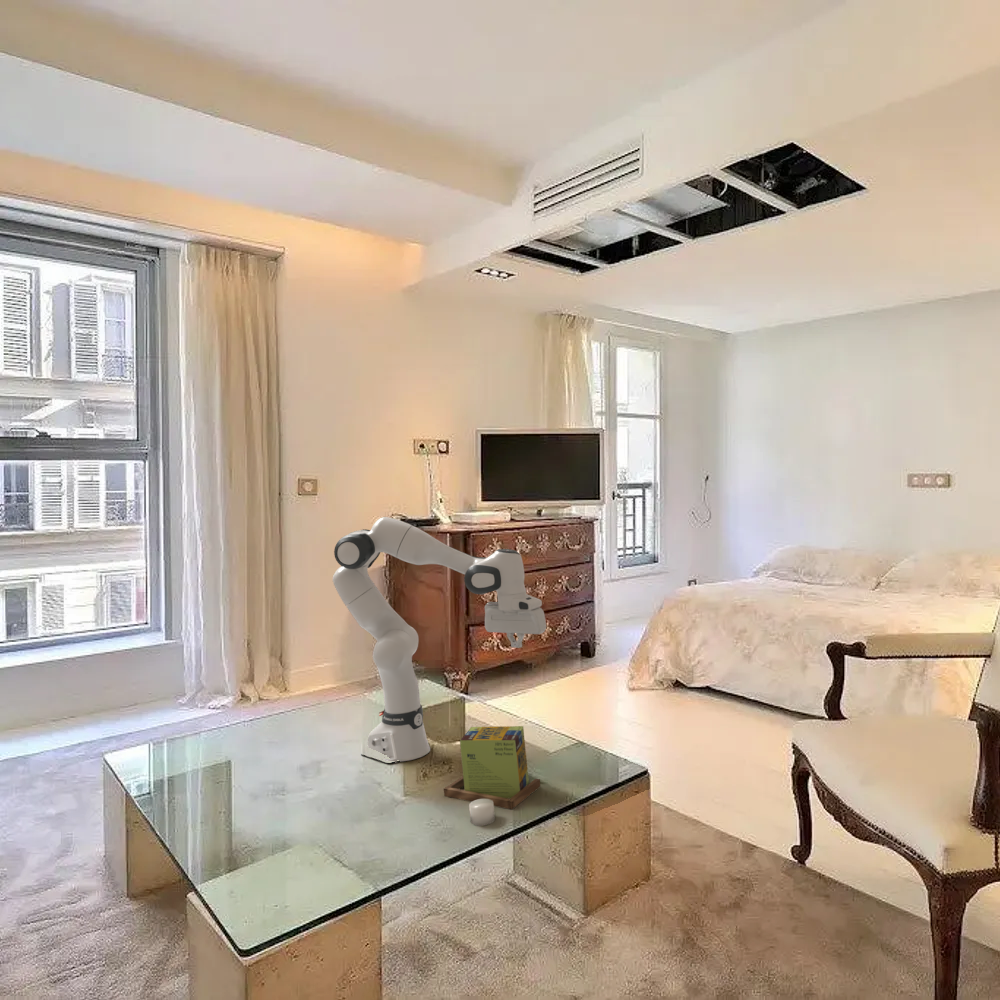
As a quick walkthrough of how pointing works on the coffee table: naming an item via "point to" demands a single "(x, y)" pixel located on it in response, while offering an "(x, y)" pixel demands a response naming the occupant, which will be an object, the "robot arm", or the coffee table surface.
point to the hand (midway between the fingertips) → (516, 647)
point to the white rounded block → (482, 812)
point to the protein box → (494, 760)
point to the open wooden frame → (456, 792)
